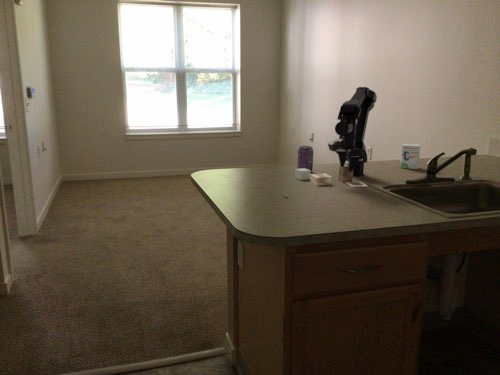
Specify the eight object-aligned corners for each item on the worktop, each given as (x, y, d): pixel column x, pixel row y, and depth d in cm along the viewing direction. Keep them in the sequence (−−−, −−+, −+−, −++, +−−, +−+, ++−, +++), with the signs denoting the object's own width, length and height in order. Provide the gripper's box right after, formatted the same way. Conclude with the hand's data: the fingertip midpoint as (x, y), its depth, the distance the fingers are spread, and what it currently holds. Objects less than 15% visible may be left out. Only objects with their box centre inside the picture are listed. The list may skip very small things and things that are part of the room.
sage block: (304, 176, 200) (304, 168, 199) (310, 179, 196) (310, 170, 195) (294, 177, 198) (295, 169, 197) (300, 180, 194) (301, 171, 193)
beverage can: (312, 170, 213) (313, 145, 210) (312, 173, 206) (313, 148, 203) (297, 170, 214) (298, 145, 211) (297, 173, 207) (298, 147, 204)
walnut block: (348, 179, 196) (349, 166, 194) (352, 182, 192) (353, 168, 190) (338, 180, 195) (339, 166, 194) (342, 182, 191) (343, 168, 189)
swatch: (360, 182, 191) (360, 181, 191) (367, 186, 184) (367, 185, 184) (345, 182, 190) (345, 181, 189) (351, 186, 183) (352, 185, 183)
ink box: (417, 167, 225) (420, 144, 223) (418, 169, 221) (420, 145, 218) (399, 166, 228) (402, 143, 225) (400, 168, 223) (402, 144, 220)
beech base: (325, 181, 193) (325, 173, 192) (331, 185, 187) (331, 177, 186) (309, 182, 192) (310, 174, 191) (315, 185, 185) (316, 177, 184)
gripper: (322, 130, 196) (321, 165, 199) (339, 136, 178) (336, 174, 182) (346, 130, 198) (344, 165, 202) (365, 136, 180) (362, 173, 184)
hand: (346, 169), depth 192 cm, fingers open, 9 cm apart
